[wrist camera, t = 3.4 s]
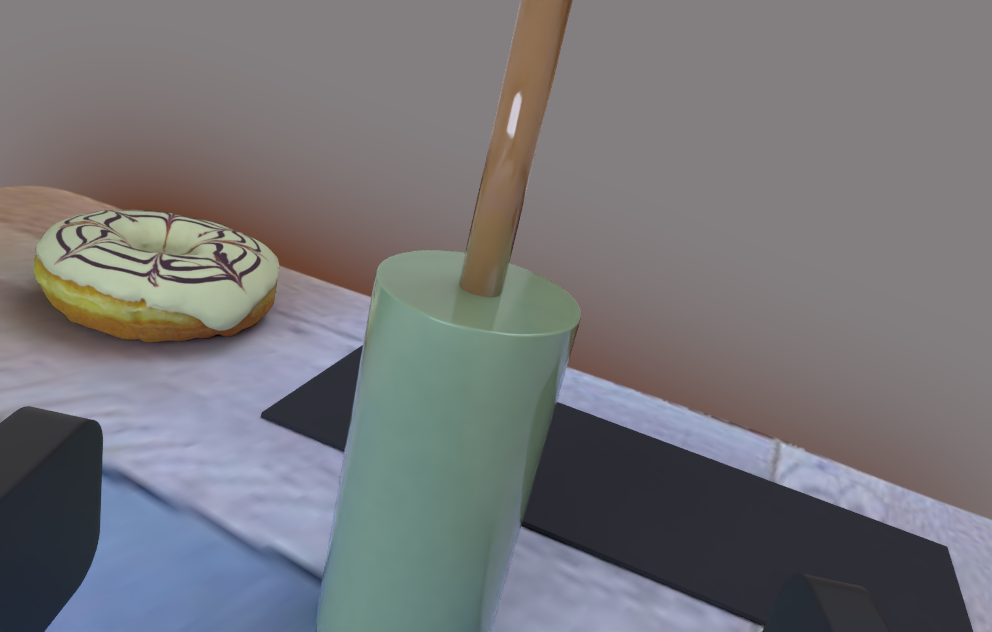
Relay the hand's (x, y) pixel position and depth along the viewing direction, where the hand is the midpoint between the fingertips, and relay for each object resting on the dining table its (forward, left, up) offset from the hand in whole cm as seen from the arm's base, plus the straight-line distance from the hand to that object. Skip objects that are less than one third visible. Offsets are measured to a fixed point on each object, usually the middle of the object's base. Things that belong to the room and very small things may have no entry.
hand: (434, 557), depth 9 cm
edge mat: (+7, +21, -12) cm, 25 cm away
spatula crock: (0, +11, -12) cm, 16 cm away
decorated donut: (-15, +28, -12) cm, 34 cm away
